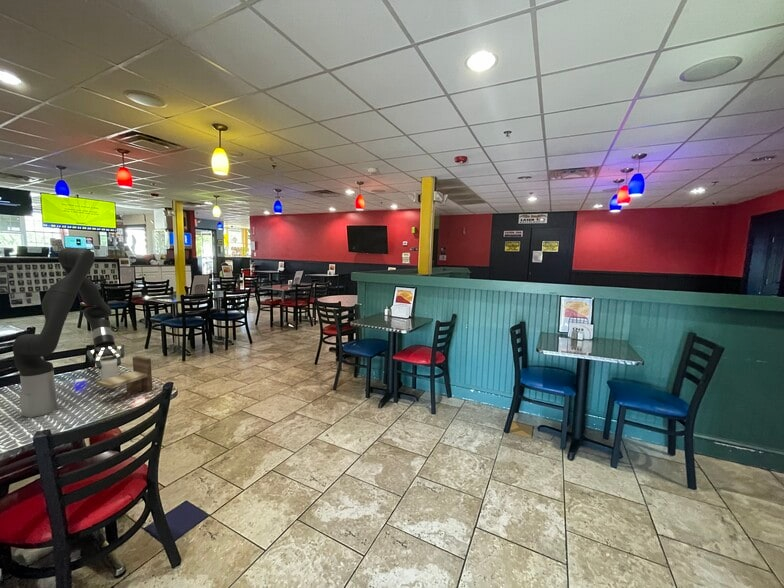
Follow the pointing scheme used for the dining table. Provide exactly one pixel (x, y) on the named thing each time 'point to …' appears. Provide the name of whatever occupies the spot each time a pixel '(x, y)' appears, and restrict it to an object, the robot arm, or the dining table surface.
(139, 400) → the dining table surface
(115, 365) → the can
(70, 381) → the dining table surface
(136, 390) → the wooden l-shaped bracket
